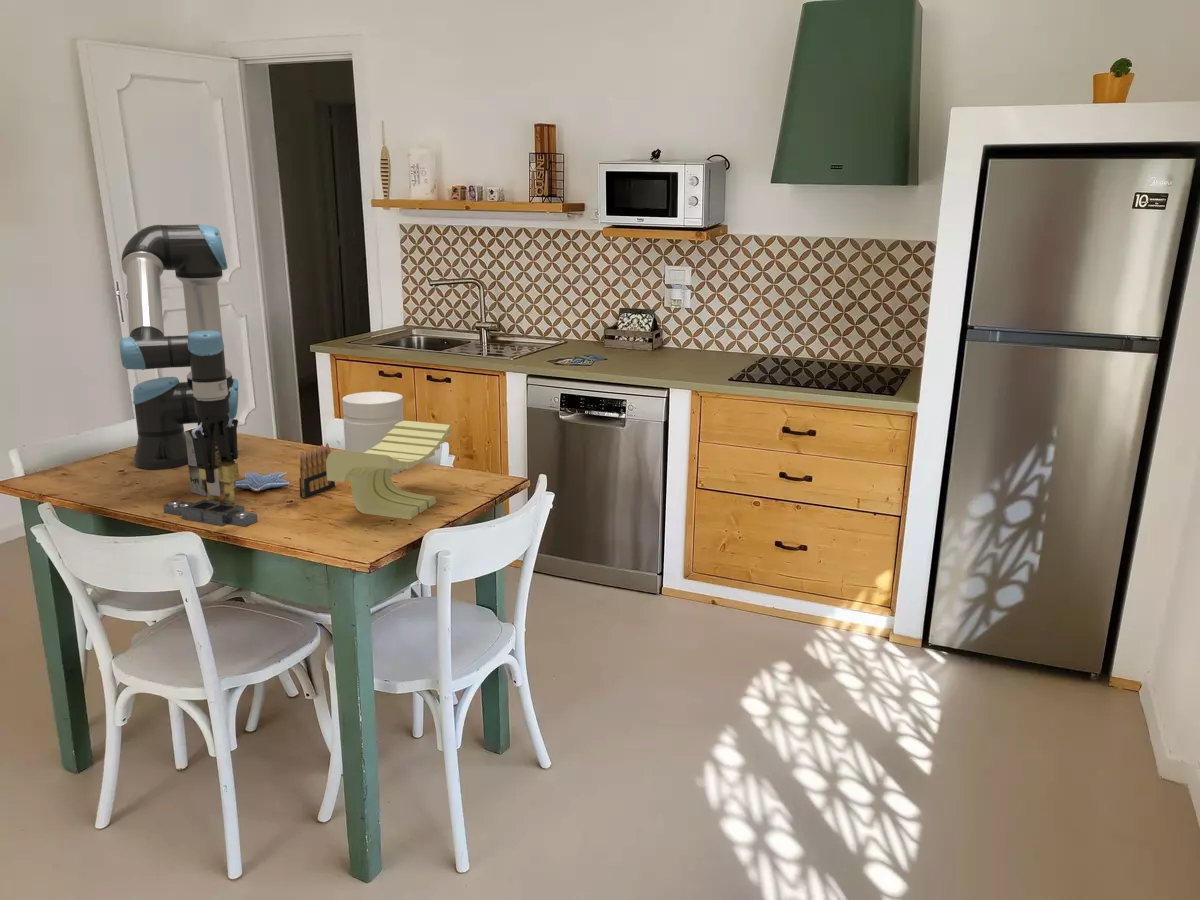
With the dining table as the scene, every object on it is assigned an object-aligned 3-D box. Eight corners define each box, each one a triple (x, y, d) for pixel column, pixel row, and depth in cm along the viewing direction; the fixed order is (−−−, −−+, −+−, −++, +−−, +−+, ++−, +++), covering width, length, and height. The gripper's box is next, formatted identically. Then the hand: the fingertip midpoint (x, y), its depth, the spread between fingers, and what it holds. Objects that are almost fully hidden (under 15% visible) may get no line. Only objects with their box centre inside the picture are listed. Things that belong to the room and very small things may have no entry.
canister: (398, 477, 243) (394, 404, 237) (339, 475, 243) (334, 403, 238) (411, 460, 258) (408, 392, 253) (355, 459, 258) (351, 391, 253)
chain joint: (159, 514, 212) (157, 504, 211) (182, 505, 218) (181, 495, 217) (240, 528, 203) (239, 518, 203) (262, 519, 210) (261, 508, 209)
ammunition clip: (329, 486, 234) (326, 441, 231) (335, 487, 234) (332, 442, 230) (300, 497, 225) (296, 451, 222) (305, 498, 224) (302, 452, 221)
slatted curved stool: (396, 485, 235) (393, 419, 231) (452, 492, 231) (449, 424, 226) (330, 523, 208) (324, 448, 203) (391, 531, 203) (387, 455, 198)
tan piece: (202, 503, 219) (198, 462, 216) (212, 500, 222) (208, 459, 219) (232, 508, 216) (227, 466, 213) (241, 504, 219) (237, 463, 216)
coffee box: (206, 496, 224) (199, 434, 220) (190, 492, 228) (183, 430, 223) (237, 487, 232) (232, 426, 228) (222, 483, 235) (215, 423, 231)
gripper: (197, 405, 203) (207, 504, 210) (248, 392, 218) (257, 485, 224) (171, 402, 206) (182, 500, 212) (224, 389, 221) (233, 481, 227)
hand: (220, 492), depth 218 cm, fingers closed on tan piece, 3 cm apart
